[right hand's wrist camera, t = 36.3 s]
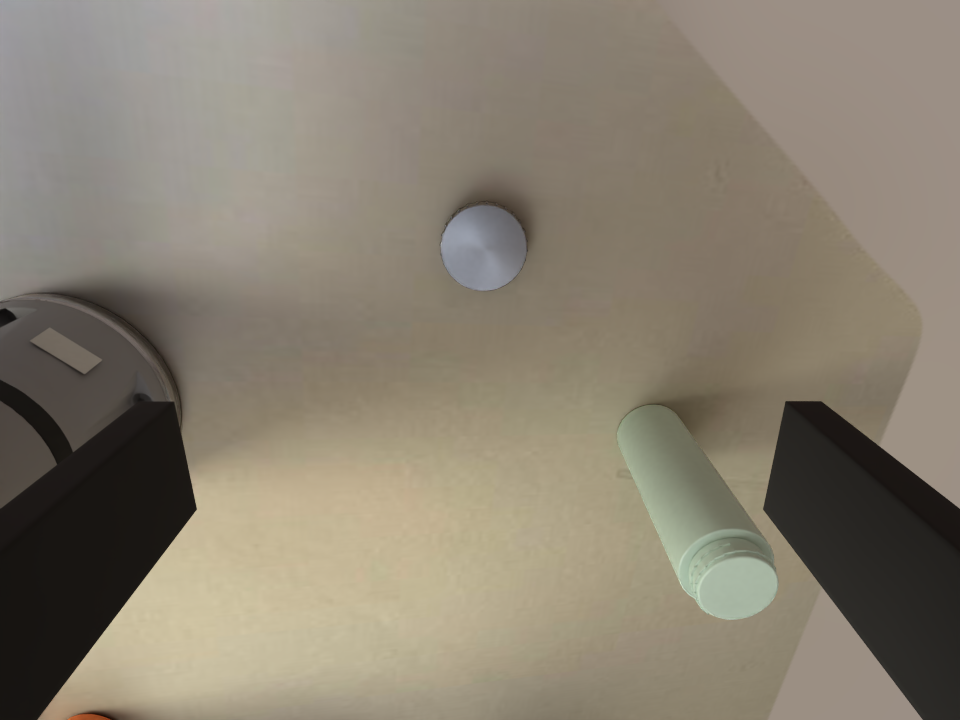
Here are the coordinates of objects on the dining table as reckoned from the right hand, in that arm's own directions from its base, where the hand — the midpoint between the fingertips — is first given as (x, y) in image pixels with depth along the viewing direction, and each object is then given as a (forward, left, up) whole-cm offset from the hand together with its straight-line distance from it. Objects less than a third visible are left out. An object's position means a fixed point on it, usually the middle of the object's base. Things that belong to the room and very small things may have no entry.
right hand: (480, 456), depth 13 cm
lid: (0, 0, -25) cm, 25 cm away
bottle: (-3, -18, -27) cm, 32 cm away
